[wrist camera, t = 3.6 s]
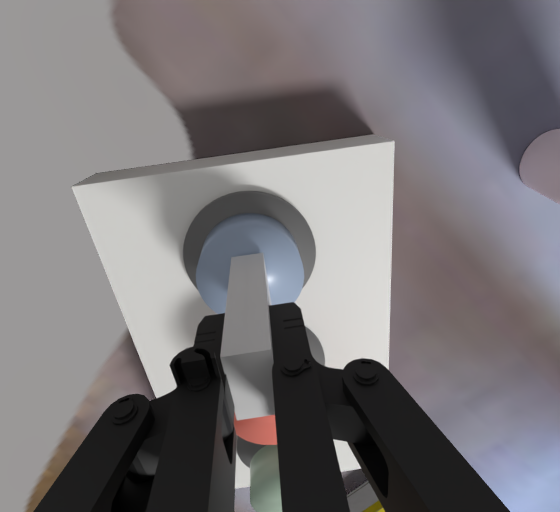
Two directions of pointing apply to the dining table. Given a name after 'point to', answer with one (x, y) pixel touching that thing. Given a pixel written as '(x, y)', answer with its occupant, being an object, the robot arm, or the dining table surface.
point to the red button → (257, 429)
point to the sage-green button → (265, 480)
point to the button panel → (262, 200)
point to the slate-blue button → (244, 241)
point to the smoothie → (543, 165)
